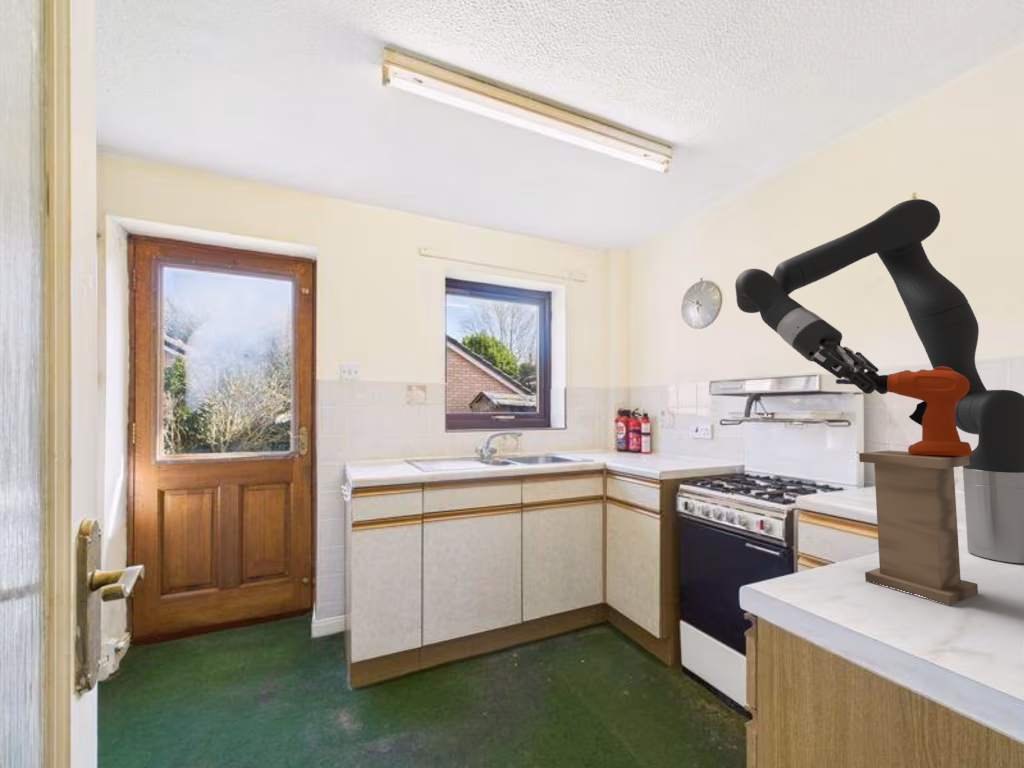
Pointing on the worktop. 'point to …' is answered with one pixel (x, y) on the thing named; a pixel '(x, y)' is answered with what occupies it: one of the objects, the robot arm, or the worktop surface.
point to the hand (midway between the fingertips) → (880, 390)
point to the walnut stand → (918, 525)
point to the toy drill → (930, 407)
